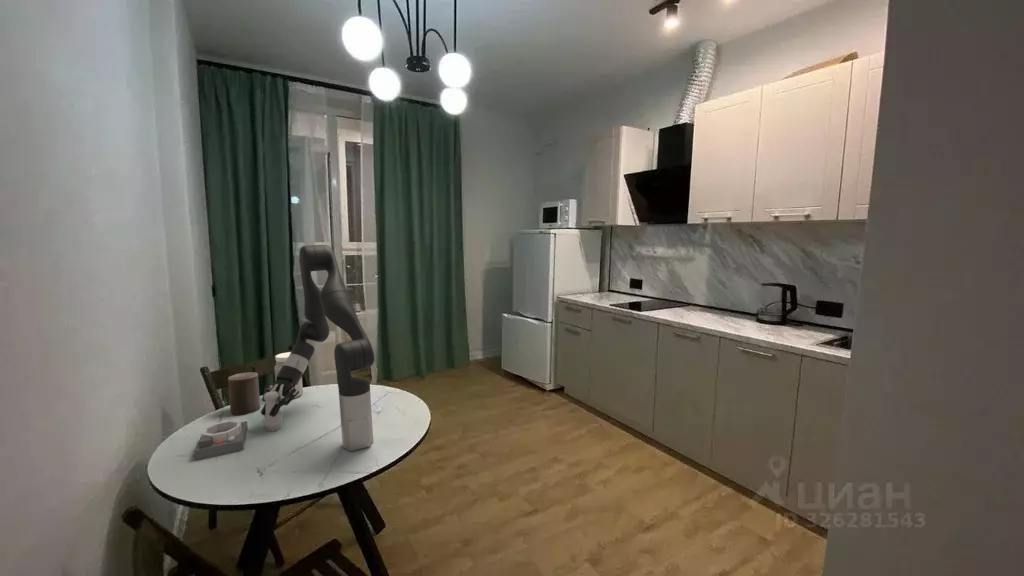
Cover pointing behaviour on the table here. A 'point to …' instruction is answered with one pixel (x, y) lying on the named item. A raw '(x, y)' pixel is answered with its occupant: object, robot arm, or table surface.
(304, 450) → the table surface
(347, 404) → the robot arm
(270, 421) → the salt shaker
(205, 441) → the octagon ring base
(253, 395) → the pillar candle
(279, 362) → the jar
